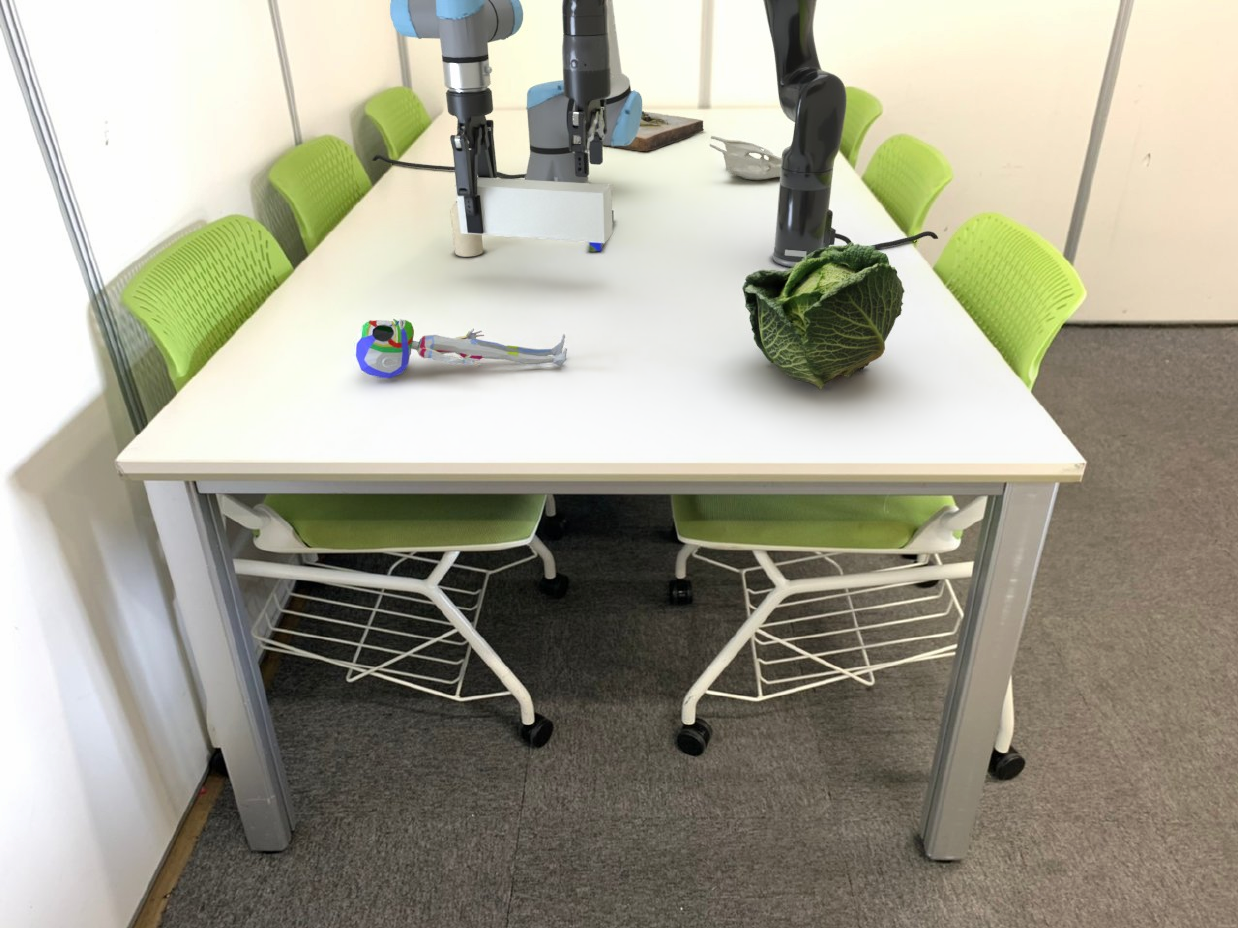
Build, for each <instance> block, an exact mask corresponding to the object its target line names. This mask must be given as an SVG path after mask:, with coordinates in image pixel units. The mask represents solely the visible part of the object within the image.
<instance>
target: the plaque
mask: <svg viewBox="0 0 1238 928" xmlns="http://www.w3.org/2000/svg"><path fill="white" fill-rule="evenodd" d="M704 130H705V129H704V120H702V119H698V118H693V117H685V116H679V115H669V114H663V113H659V112H650V111H644V110H642V116H641V122H640V126H639V129H638V132H637V135H636V137H635V139H634V140H633V141H632V143H630V144H629V145H627V146H611V145H604V146H607V147H612V148H620V149H625V150H632V151H640V152H648V151H654V150H656V149H659V148H662V147H663V146H664V147H665V146H667V145H670V144H672V143H676V142H680V141H682V140H684V139H687V138H691V137H692V136H694V135H696V134H698V133H700V132H704Z"/></svg>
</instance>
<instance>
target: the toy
mask: <svg viewBox="0 0 1238 928" xmlns="http://www.w3.org/2000/svg"><path fill="white" fill-rule="evenodd" d="M474 331H475V328H472V329H471V330H469V331H468V332H467V333H466V334H465V335H463V336H458V337H449V336H448V337H447V336H442V335H439V334H428V335H423V336H421V338H420V339H419V341H417V340H414V336H415V329H414V326H413V324H412V322H410V321H408V320H407V319H399V320H397V319H395V318H392V320H387V319H379V320H368V321H367V322H365V323H364V324H362V326H361V329H360V331H359V333H358V334H357V338H356V340H355V342H354V354H353V355H354V357H355V359H356V362H357V364H358V366H359V369H360V370H361V372H364V373H366V374H367V375H370V376H373V377H377V378H382V379H383V378H384V379H392V378H394V377H396V376H398V375H400V374H401V375H402V374H403V372H404V371H405V370H406V368H407V367H408V366H409V364H410V357H411V355H412V350H415V351H417V353H418V356H419V357H421V358H422V359H430V360H434V361H438V362H442V363H444V364H449V365H458V364H459V365H461V364H465V365H471V366H477V367H479V368H480V367H481V366H482V365H483V363H482V362H478V361H480V360H482V359H487V360H488V359H489V360H503V361H509V362H514V363H517V364H520V365H528V366H529V365H542V364H550V363H553V364H555V365H557V366H559V367H562V366H563V364H564V362H565V361H566V360H567V357H568V355H567V353H568V348H566V347H565V348H564V345H565V340H566V334H565V333H563V334H562V338H561V340H560V341H559V343H558V344H556V345H555V346H554V347H552V348H533V347H532V348H531V347H523V346H518V345H517V346H516V345H504V344H501V343H498V342H494V341H488V340H482V339H478V338H479V337H480V338H481V337H485V334H480V333H482V332H483V331H482V330H479V331H476V332H474ZM563 349H564V350H563ZM453 353H455V354H457V355H459V357H458V356H455V355H448V354H453ZM445 354H447V355H445Z"/></svg>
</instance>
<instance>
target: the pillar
mask: <svg viewBox="0 0 1238 928" xmlns="http://www.w3.org/2000/svg"><path fill="white" fill-rule="evenodd" d="M614 216H615V215H614V210H613V209H612V224H613V223H614ZM588 243H589V244H588V245H589V246H588V247H589V248H588V250H589V252H601V251H602V249H603V247H604V245H605V243H593V242H588Z"/></svg>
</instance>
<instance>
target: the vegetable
mask: <svg viewBox="0 0 1238 928" xmlns="http://www.w3.org/2000/svg"><path fill="white" fill-rule="evenodd" d="M744 280H745V282H744V283H743V284H742V292H743V296H744V300H745V308H746V310H747V311H748V312H749V317H748V318H749V323H750V325H751V329H750V330H751V332H752V333H753V341H754V342H755V345H756V347H758V349H759V350H760V351H761V353H762V354H763V355H764V357H765V358H766V359H767V360H768V361H769V363H770V364H773V363H774V364H775V365H776V367H777V368H778V369H779V370H780V371H781V372H782V373H784V374H786V375H787V376H788V377H790V378H792V379H793V380H795V381H800V382H804V383H810V384H812V385H814V386H816V387H817V388H818V389H819V390H822V389H823V387H824V386H828V385H829V384H828V382H827V381H831V380H832V379H833V378H835V377H836V376H838V375H839V376H840V375H841V376H844V377H848V378H849V377H850V378H851V376H852V374H854V372H856V371H859V370H864V368H865V367H867V366H869V365H870V363H872V362H874V361H876V360H878V359H879V358H881V357H882V355H883V354H884V352H885V350H886V343H885V342H886V341H887V339H888V337H889V335H890V333H891V332H892V329H893V328H894V326H895V322H896V320H897V318H898V317H900V316H901V314H902V311H903V308H902V306H903V305H904V302H903V297H904V293H905V292H906V291H905V289H904V287H903V283H902V279H900V277H899V276H898V271H897V269H896V267H895V266H892V265H891V264H890V260H889V257H888V255H887V254H886V253H885V252H882V251H880V250H879V249H875V246H871V245H861V244H859V243H856V244H854V242H852V241H851V242H850V243H848V244H847V243H846V244H845V245H829V247H825V248H819V249H818V250H816V251H814V252H812V253H810V254H808V255H807V256H805V257H804V258H803V259H802V260H801V261H800V262H799V263H796V265H795V266H794V267H789V268H787V269H785V270H778V269H777V270H776V269H771V270H770V269H760V270H756V271H754V272H752V273H750V274H748V275H746V277H745V279H744Z"/></svg>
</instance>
